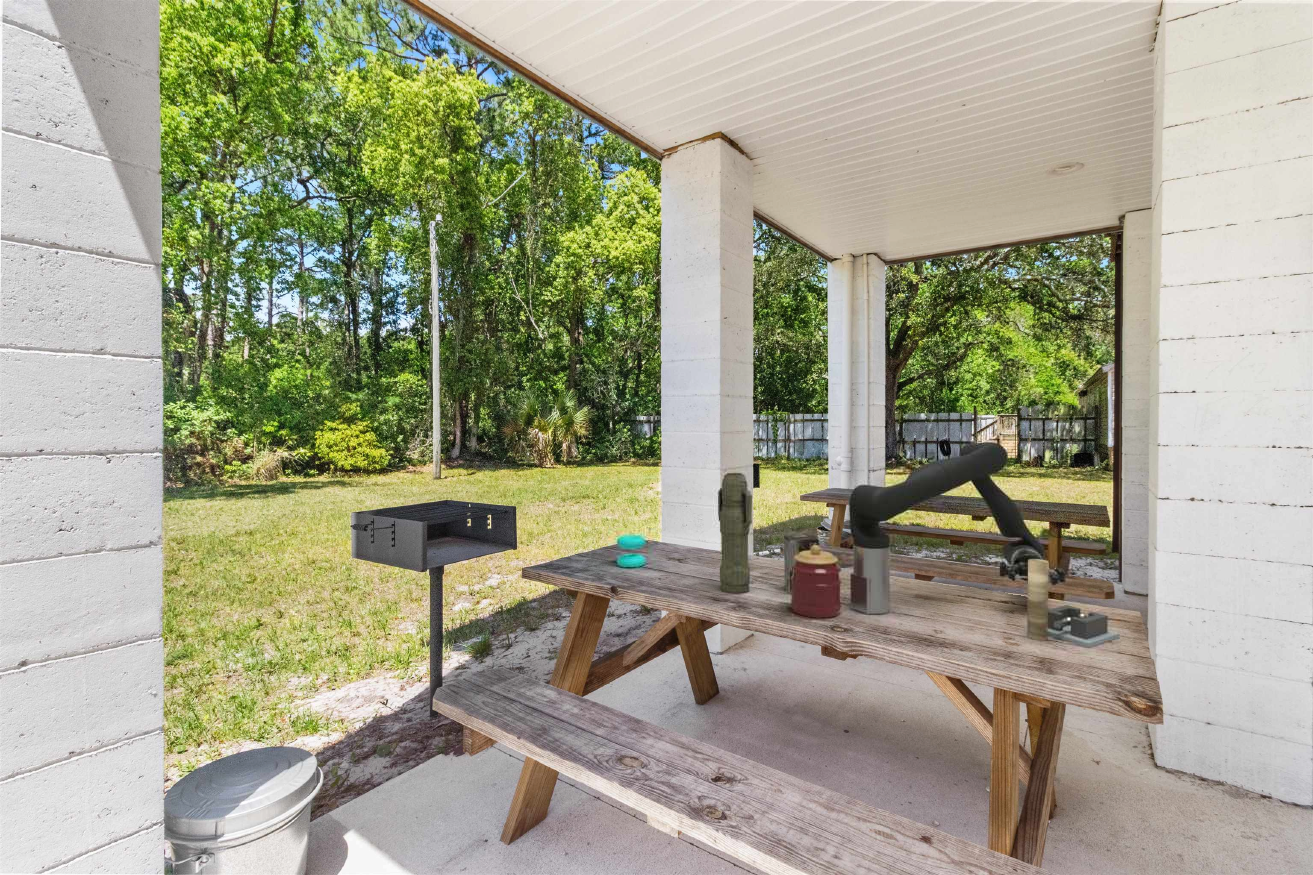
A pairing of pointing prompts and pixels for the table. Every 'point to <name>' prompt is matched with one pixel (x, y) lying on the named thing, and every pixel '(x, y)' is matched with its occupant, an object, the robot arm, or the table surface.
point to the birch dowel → (1037, 599)
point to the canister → (816, 584)
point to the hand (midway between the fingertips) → (1033, 578)
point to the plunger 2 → (1083, 615)
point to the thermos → (734, 533)
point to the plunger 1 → (1063, 622)
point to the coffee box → (795, 553)
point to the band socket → (1080, 627)
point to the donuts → (631, 558)
